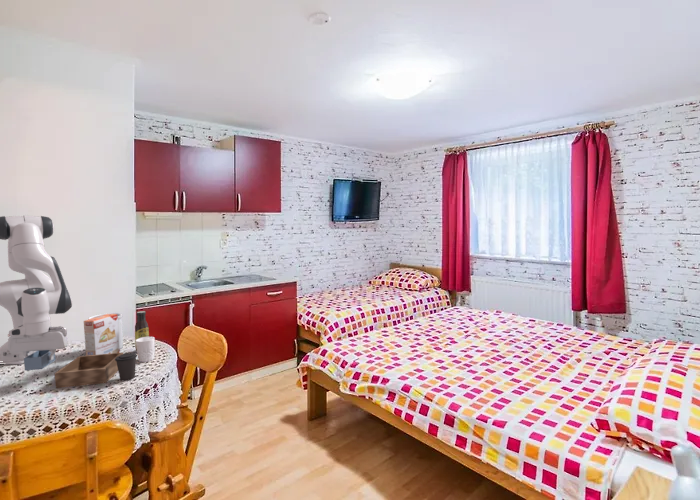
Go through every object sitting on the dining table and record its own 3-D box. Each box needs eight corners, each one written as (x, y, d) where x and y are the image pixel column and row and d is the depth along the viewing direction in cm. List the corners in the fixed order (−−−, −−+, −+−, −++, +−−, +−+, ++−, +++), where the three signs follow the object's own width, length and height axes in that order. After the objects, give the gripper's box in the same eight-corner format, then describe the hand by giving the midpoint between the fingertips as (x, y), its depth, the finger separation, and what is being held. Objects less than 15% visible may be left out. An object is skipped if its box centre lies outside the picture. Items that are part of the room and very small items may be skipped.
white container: (103, 344, 207) (101, 312, 206) (130, 344, 206) (128, 312, 205) (83, 354, 192) (80, 319, 191) (112, 353, 192) (109, 319, 190)
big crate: (55, 388, 152) (54, 373, 152) (79, 369, 172) (78, 356, 171) (106, 383, 156) (104, 368, 156) (124, 365, 176) (123, 352, 175)
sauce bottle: (139, 353, 191) (137, 314, 190) (133, 351, 194) (130, 312, 193) (152, 349, 197) (150, 311, 195) (145, 347, 200) (143, 310, 198)
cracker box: (97, 366, 175) (93, 321, 174) (86, 365, 177) (82, 320, 175) (121, 355, 189) (117, 313, 187) (110, 354, 190) (107, 313, 189)
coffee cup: (142, 373, 165) (140, 351, 164) (132, 381, 156) (130, 357, 156) (123, 374, 164) (121, 351, 164) (112, 382, 156) (110, 358, 155)
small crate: (24, 370, 154) (23, 358, 153) (39, 361, 163) (38, 350, 163) (42, 369, 155) (40, 357, 154) (55, 360, 164) (54, 348, 164)
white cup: (134, 360, 182) (133, 339, 181) (152, 355, 188) (150, 335, 187) (140, 364, 176) (139, 342, 176) (158, 359, 182) (157, 338, 181)
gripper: (69, 324, 163) (72, 355, 164) (14, 327, 159) (17, 360, 160) (62, 328, 157) (64, 361, 158) (3, 331, 152) (7, 365, 154)
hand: (40, 360), depth 159 cm, fingers closed on small crate, 6 cm apart
